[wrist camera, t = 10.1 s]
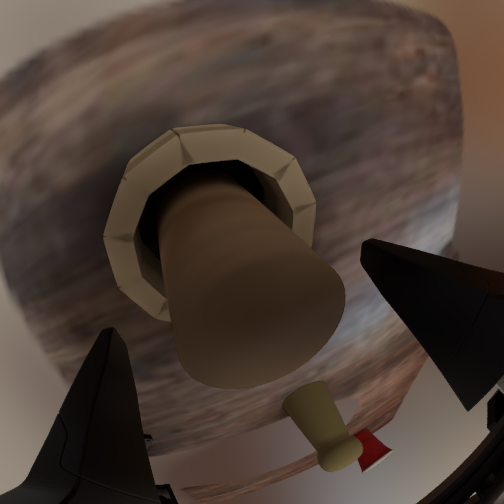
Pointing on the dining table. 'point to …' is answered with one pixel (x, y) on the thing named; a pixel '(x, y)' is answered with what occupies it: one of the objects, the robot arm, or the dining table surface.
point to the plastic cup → (371, 450)
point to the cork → (323, 426)
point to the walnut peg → (240, 284)
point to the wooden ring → (169, 164)
